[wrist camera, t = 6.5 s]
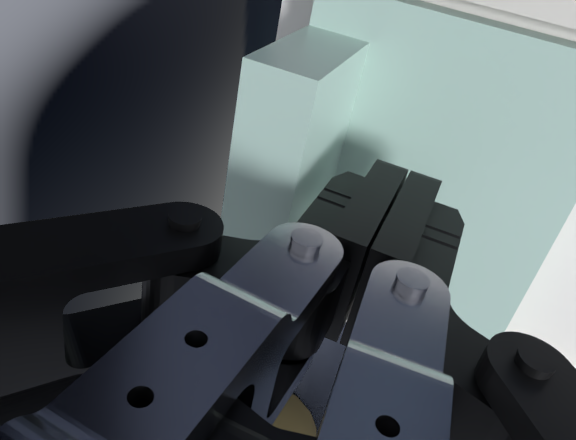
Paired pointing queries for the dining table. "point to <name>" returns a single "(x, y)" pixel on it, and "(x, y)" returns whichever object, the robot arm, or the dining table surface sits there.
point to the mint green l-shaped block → (416, 132)
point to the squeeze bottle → (296, 418)
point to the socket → (572, 238)
